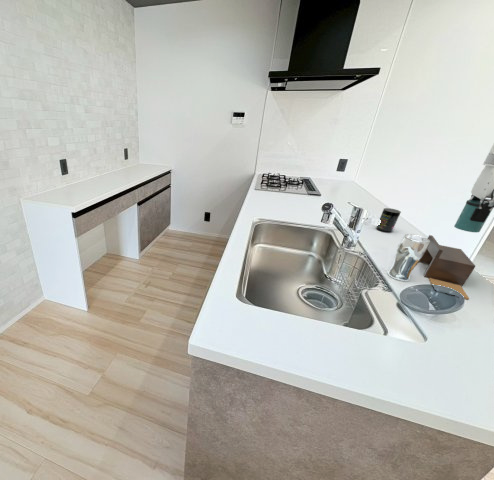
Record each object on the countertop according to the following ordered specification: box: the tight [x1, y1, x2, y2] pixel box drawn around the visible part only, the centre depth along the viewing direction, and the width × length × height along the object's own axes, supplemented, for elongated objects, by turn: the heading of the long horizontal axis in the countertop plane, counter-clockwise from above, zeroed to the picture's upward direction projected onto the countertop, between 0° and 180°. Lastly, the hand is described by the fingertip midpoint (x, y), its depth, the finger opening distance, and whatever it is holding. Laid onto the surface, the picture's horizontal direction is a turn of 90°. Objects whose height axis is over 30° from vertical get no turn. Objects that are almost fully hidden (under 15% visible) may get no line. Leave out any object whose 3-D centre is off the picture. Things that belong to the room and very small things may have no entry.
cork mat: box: [428, 278, 470, 301], centre depth 85 cm, size 8×8×1 cm
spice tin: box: [453, 199, 494, 233], centre depth 84 cm, size 6×6×9 cm
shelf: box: [419, 234, 476, 287], centre depth 92 cm, size 10×14×11 cm
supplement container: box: [375, 207, 402, 234], centre depth 127 cm, size 7×7×10 cm
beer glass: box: [387, 233, 430, 282], centre depth 88 cm, size 7×7×15 cm
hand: (472, 217), depth 84 cm, fingers closed on spice tin, 6 cm apart
